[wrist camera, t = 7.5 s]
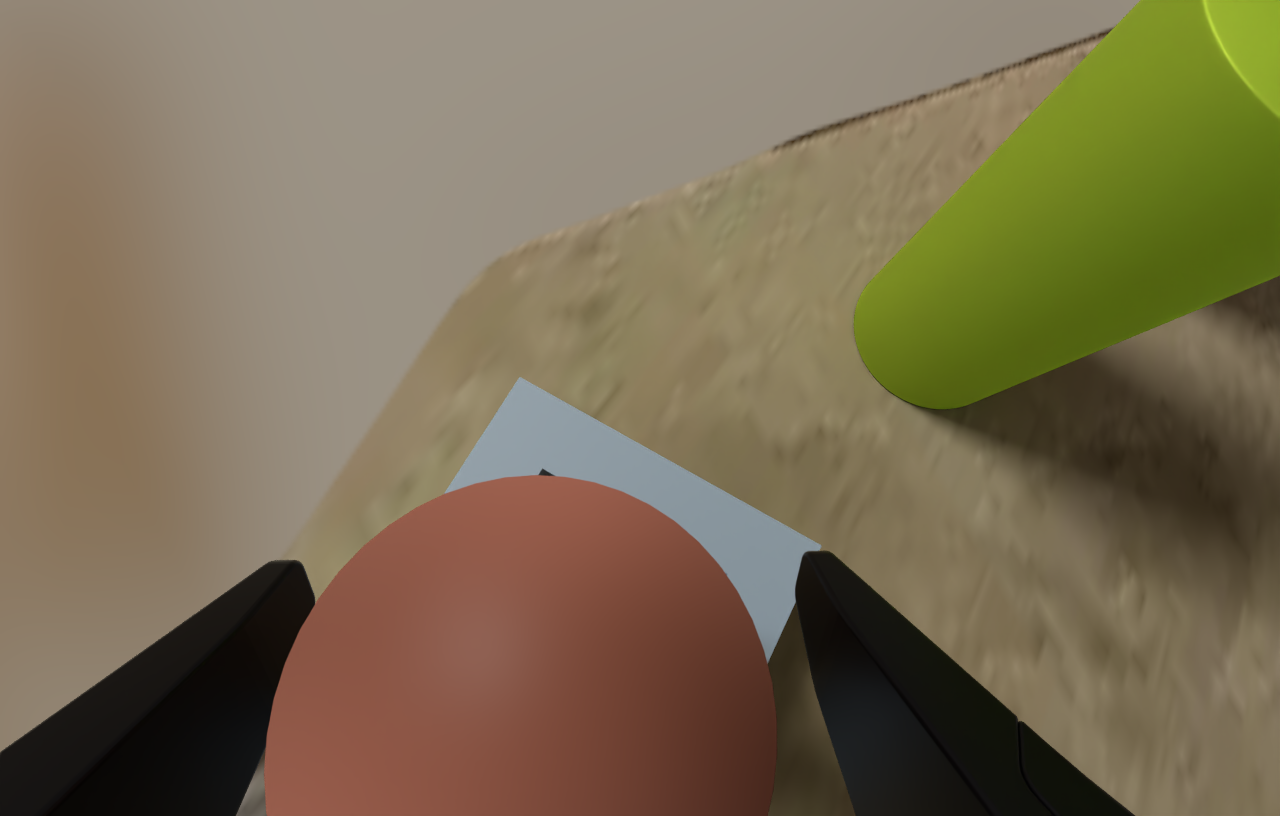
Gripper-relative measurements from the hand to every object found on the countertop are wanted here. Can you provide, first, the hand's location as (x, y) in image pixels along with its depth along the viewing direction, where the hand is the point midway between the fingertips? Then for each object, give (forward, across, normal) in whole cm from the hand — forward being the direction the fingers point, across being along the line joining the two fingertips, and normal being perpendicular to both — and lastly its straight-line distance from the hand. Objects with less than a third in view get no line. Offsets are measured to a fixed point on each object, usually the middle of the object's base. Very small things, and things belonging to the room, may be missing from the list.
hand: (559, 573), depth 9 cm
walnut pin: (+6, 0, +8) cm, 10 cm away
